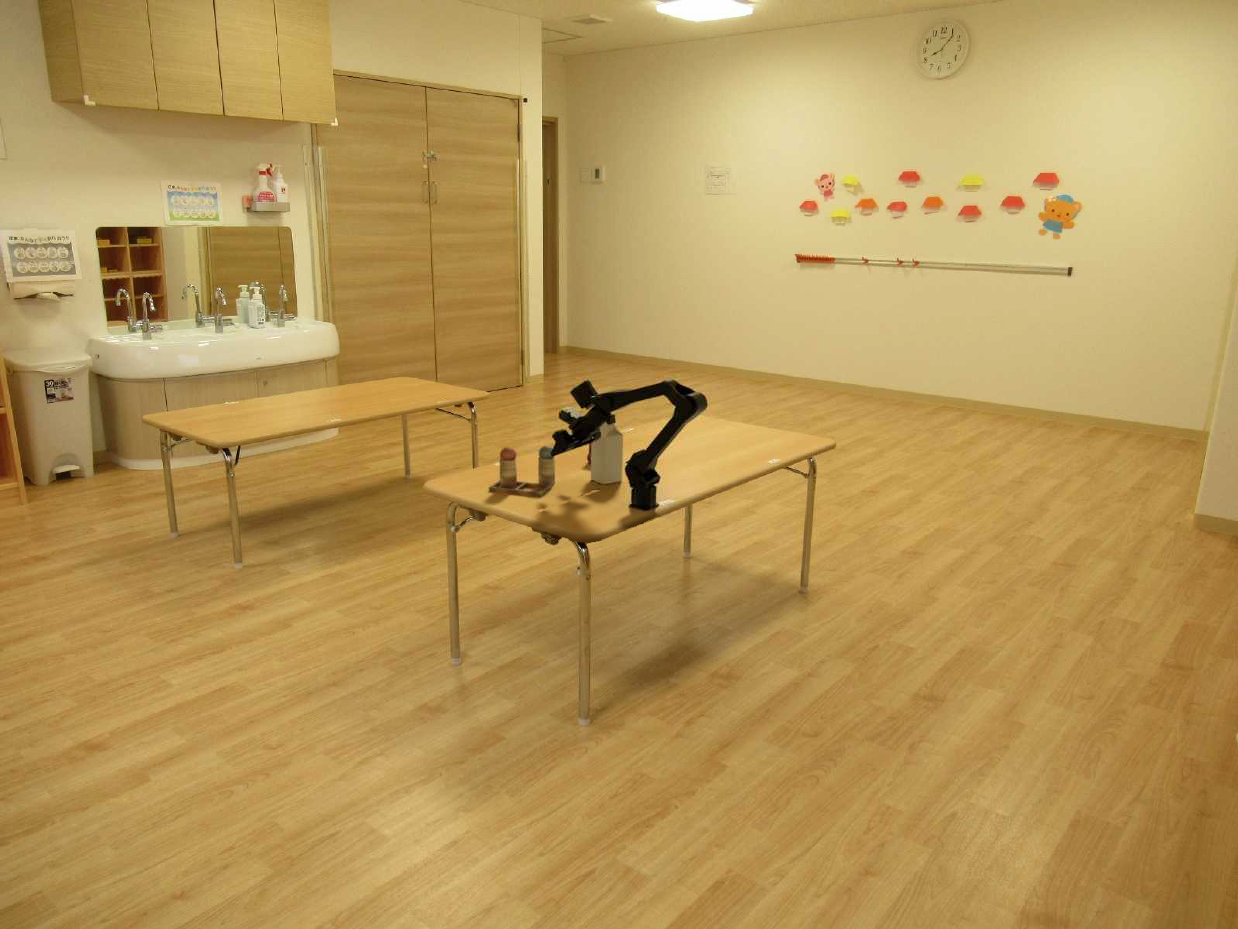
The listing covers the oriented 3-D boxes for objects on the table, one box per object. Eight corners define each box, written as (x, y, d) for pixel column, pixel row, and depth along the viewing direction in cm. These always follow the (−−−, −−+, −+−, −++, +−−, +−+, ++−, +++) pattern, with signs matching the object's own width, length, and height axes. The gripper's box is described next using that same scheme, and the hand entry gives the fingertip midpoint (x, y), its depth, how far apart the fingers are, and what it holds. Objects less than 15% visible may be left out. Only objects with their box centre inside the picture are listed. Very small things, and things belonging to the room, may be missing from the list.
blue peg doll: (558, 486, 275) (558, 445, 272) (547, 489, 271) (547, 448, 268) (545, 483, 278) (545, 443, 274) (534, 486, 274) (535, 446, 270)
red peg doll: (520, 488, 269) (520, 447, 265) (508, 491, 265) (508, 450, 262) (507, 485, 272) (507, 444, 268) (496, 488, 268) (495, 447, 264)
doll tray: (551, 491, 269) (551, 485, 269) (541, 499, 261) (541, 492, 261) (500, 485, 274) (500, 479, 273) (489, 493, 266) (489, 487, 265)
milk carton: (603, 485, 277) (604, 424, 272) (590, 479, 283) (591, 420, 278) (622, 481, 281) (623, 422, 276) (608, 476, 287) (610, 418, 282)
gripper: (593, 394, 269) (562, 425, 278) (557, 404, 254) (526, 436, 262) (615, 424, 268) (583, 454, 276) (580, 435, 252) (548, 467, 261)
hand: (560, 452), depth 269 cm, fingers open, 9 cm apart
